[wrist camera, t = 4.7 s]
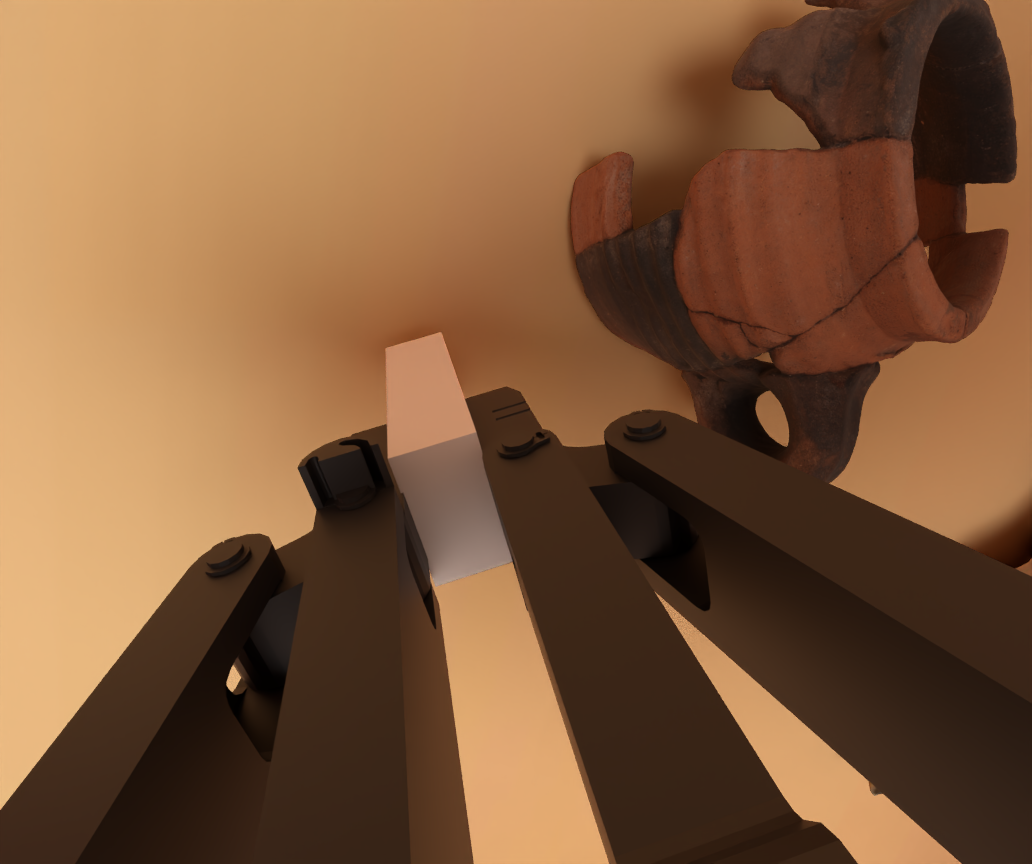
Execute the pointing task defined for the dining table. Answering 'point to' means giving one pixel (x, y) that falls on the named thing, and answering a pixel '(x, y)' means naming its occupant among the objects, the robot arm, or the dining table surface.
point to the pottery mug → (818, 224)
